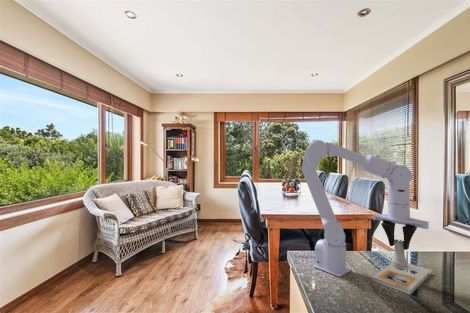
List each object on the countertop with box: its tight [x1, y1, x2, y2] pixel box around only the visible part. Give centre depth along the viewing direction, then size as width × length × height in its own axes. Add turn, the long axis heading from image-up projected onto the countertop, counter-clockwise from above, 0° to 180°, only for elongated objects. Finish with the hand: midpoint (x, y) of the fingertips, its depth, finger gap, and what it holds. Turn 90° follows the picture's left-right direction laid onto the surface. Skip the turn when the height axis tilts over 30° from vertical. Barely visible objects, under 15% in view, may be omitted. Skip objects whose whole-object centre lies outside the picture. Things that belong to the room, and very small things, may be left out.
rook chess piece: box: [390, 238, 409, 270], centre depth 75 cm, size 4×4×8 cm
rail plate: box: [371, 263, 432, 295], centre depth 76 cm, size 10×20×1 cm, turn 128°
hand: (399, 247), depth 75 cm, fingers closed on rook chess piece, 3 cm apart
